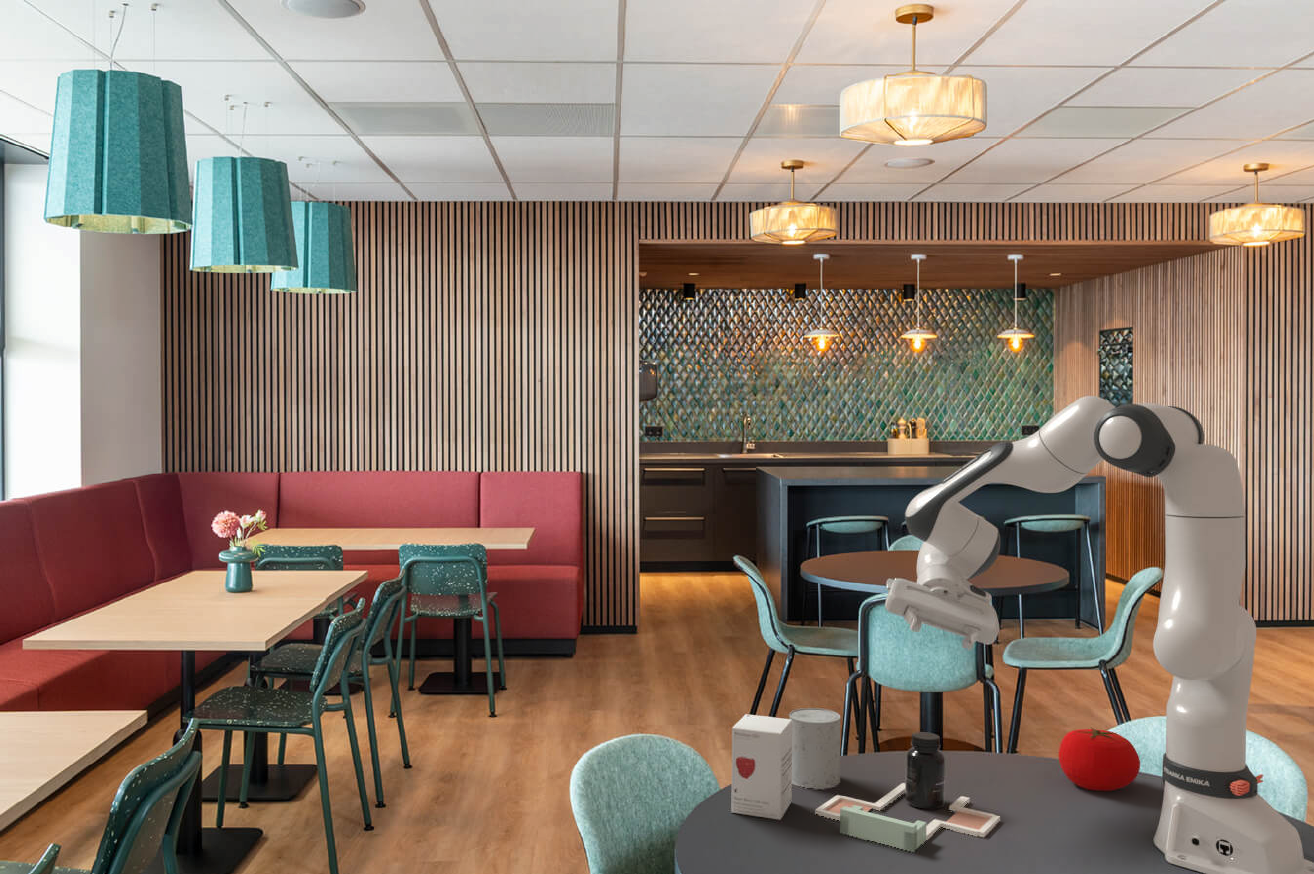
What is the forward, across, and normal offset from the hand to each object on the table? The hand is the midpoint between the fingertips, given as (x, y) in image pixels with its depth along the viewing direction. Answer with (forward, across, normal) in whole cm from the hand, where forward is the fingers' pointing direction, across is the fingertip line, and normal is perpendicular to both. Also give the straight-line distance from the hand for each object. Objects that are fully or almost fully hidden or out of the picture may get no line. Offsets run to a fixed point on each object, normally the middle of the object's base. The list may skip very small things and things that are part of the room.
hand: (942, 637), depth 176 cm
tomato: (-4, +38, +24) cm, 45 cm away
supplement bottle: (+12, +6, +27) cm, 30 cm away
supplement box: (+20, -21, +32) cm, 44 cm away
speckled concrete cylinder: (+6, -12, +36) cm, 38 cm away
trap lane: (+18, +3, +25) cm, 31 cm away
